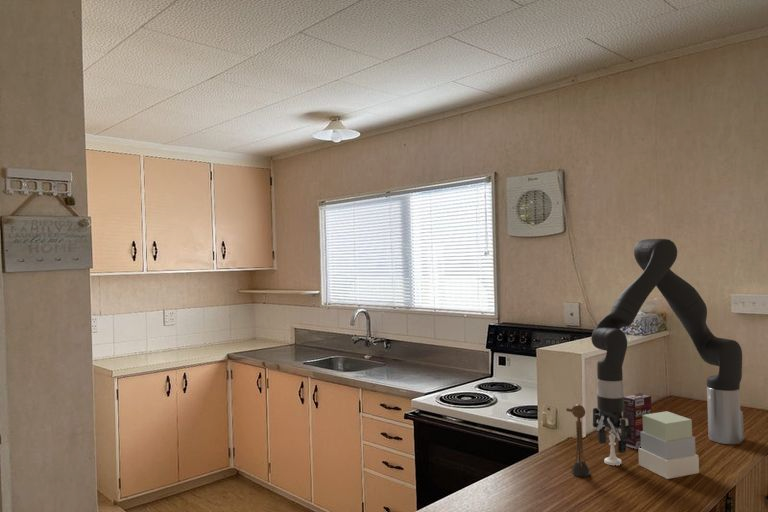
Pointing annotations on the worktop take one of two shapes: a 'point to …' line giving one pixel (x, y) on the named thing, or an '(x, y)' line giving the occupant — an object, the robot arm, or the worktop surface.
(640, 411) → the supplement box
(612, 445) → the chess piece
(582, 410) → the wooden tabletop sculpture
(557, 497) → the worktop surface
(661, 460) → the brick tower
